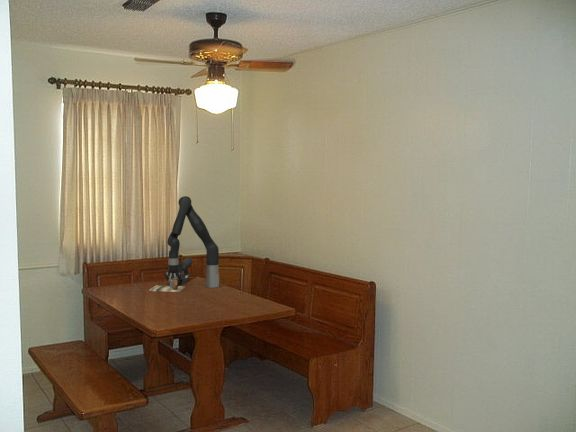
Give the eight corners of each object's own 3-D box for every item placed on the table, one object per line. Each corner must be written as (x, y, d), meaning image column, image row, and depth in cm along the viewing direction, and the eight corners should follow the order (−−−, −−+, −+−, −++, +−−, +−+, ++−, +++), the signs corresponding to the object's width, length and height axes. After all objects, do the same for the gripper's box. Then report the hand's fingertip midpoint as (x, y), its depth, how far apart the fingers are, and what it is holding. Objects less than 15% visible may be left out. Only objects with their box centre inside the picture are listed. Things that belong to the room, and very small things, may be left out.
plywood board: (185, 287, 414) (185, 286, 414) (179, 291, 400) (179, 290, 399) (155, 286, 416) (155, 285, 416) (149, 291, 401) (149, 289, 401)
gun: (194, 281, 438) (194, 257, 437) (172, 288, 413) (172, 262, 411) (187, 280, 441) (187, 256, 440) (165, 287, 416) (165, 261, 414)
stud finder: (177, 286, 414) (177, 278, 413) (175, 287, 408) (175, 280, 407) (172, 286, 414) (172, 278, 413) (169, 287, 408) (169, 280, 408)
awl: (178, 289, 404) (177, 274, 403) (176, 290, 400) (176, 275, 400) (173, 288, 404) (173, 274, 403) (171, 289, 401) (171, 275, 400)
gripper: (184, 263, 413) (184, 285, 414) (165, 262, 414) (165, 285, 415) (181, 264, 405) (181, 287, 407) (162, 264, 406) (162, 287, 408)
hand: (173, 286), depth 411 cm, fingers closed on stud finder, 4 cm apart
